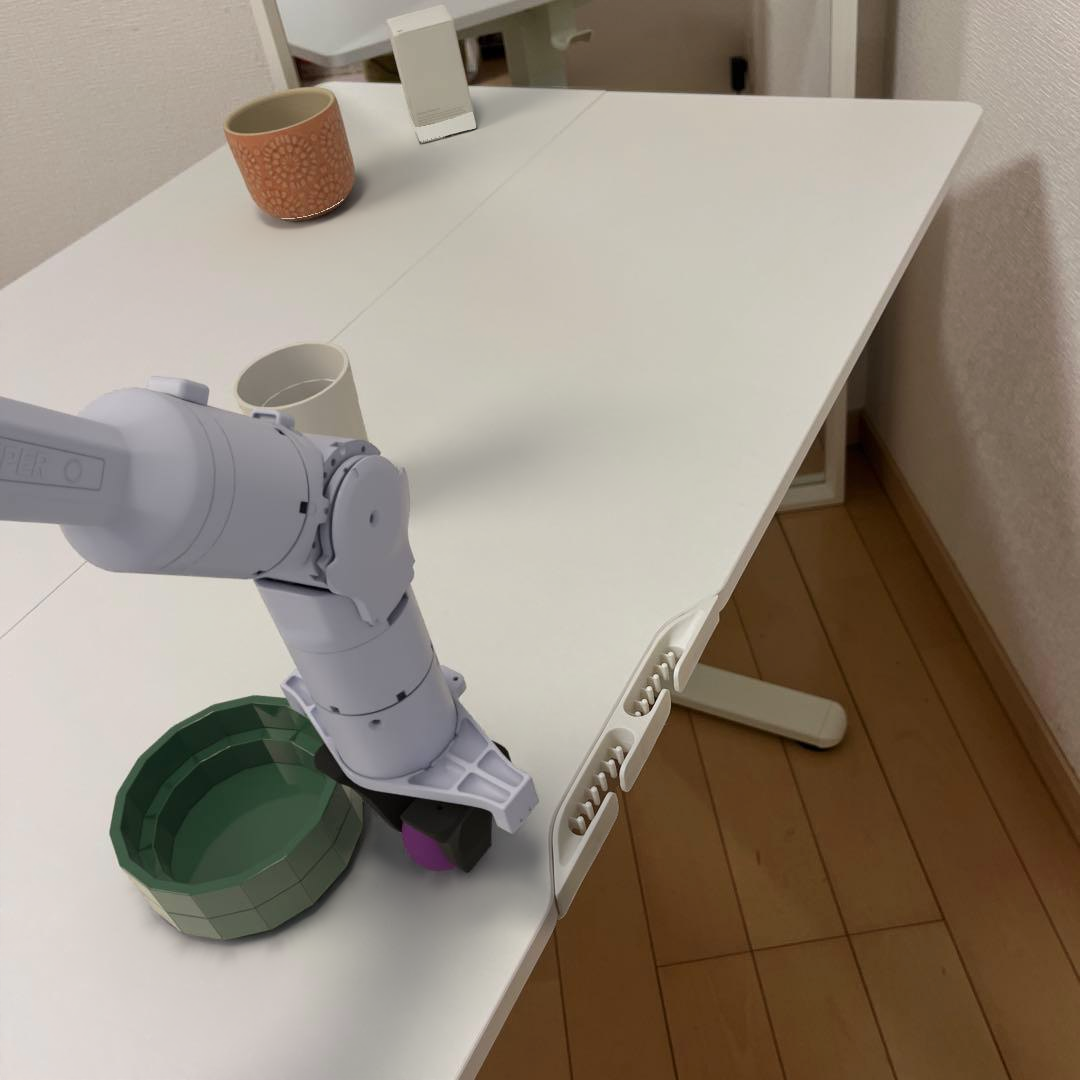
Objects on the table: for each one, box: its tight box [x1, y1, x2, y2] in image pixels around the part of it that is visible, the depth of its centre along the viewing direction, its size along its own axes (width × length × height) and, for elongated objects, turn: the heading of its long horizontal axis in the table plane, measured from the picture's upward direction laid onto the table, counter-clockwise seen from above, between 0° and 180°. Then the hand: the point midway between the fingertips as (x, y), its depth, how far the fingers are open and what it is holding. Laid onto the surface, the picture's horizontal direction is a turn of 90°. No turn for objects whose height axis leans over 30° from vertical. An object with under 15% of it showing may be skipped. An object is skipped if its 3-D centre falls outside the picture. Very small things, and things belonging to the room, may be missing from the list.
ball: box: [401, 822, 458, 872], centre depth 57 cm, size 4×4×4 cm
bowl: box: [108, 694, 364, 941], centre depth 59 cm, size 12×12×5 cm
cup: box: [232, 340, 370, 442], centre depth 78 cm, size 8×8×12 cm
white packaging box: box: [385, 3, 474, 144], centre depth 130 cm, size 7×7×13 cm
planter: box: [222, 86, 356, 222], centre depth 120 cm, size 12×12×11 cm
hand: (444, 837), depth 57 cm, fingers closed on ball, 4 cm apart
